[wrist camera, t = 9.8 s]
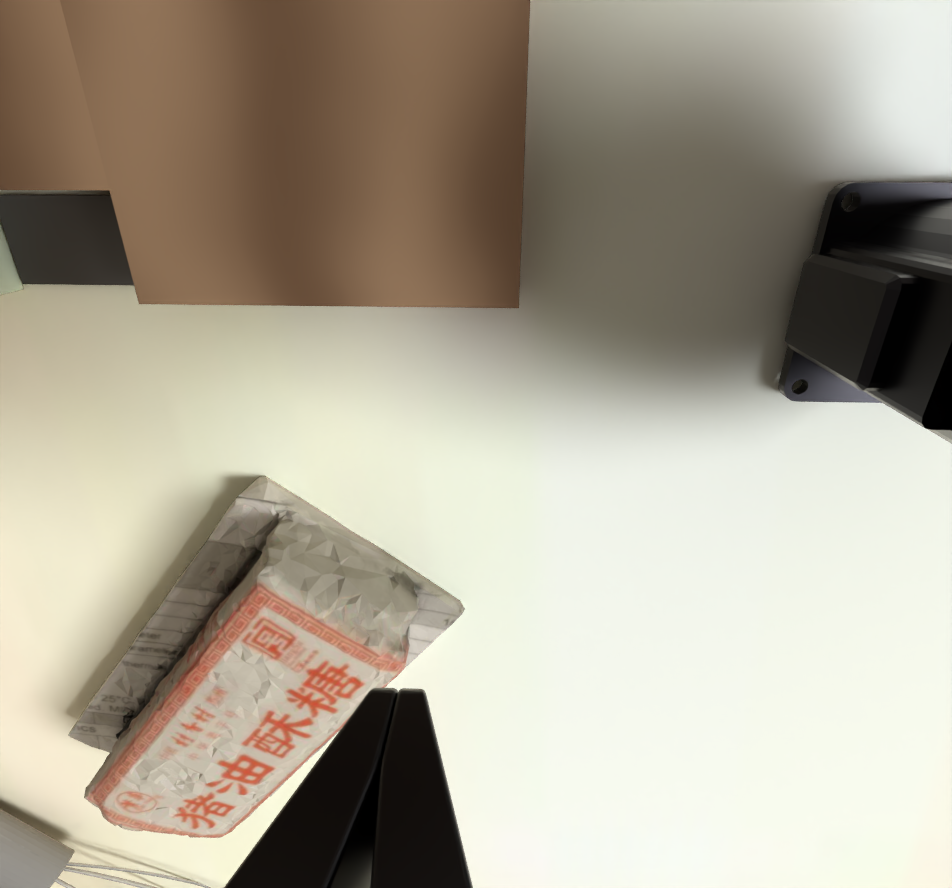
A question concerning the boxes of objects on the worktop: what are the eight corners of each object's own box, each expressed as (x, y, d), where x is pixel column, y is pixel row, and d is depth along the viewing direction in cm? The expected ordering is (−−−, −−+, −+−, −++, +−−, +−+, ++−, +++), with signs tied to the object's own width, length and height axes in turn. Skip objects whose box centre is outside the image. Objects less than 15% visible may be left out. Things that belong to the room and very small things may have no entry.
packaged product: (201, 535, 17) (460, 686, 19) (261, 460, 21) (467, 592, 24) (10, 807, 23) (223, 894, 26) (86, 707, 28) (262, 790, 30)
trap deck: (535, -257, 12) (548, -402, 9) (516, 293, 18) (520, 320, 14) (-451, -238, 13) (-753, -368, 10) (-185, 286, 18) (-326, 311, 15)
